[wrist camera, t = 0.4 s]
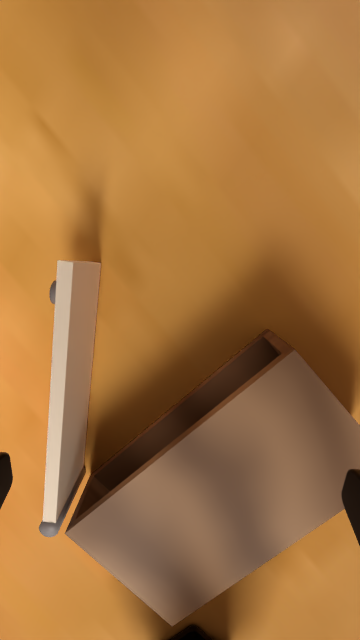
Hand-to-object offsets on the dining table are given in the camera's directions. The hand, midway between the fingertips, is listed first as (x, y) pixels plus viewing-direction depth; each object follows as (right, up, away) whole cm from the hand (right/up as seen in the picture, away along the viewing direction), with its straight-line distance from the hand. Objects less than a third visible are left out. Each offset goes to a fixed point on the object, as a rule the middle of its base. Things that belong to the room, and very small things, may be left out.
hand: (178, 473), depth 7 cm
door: (-7, 0, +13) cm, 15 cm away
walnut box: (+3, -6, +14) cm, 16 cm away
